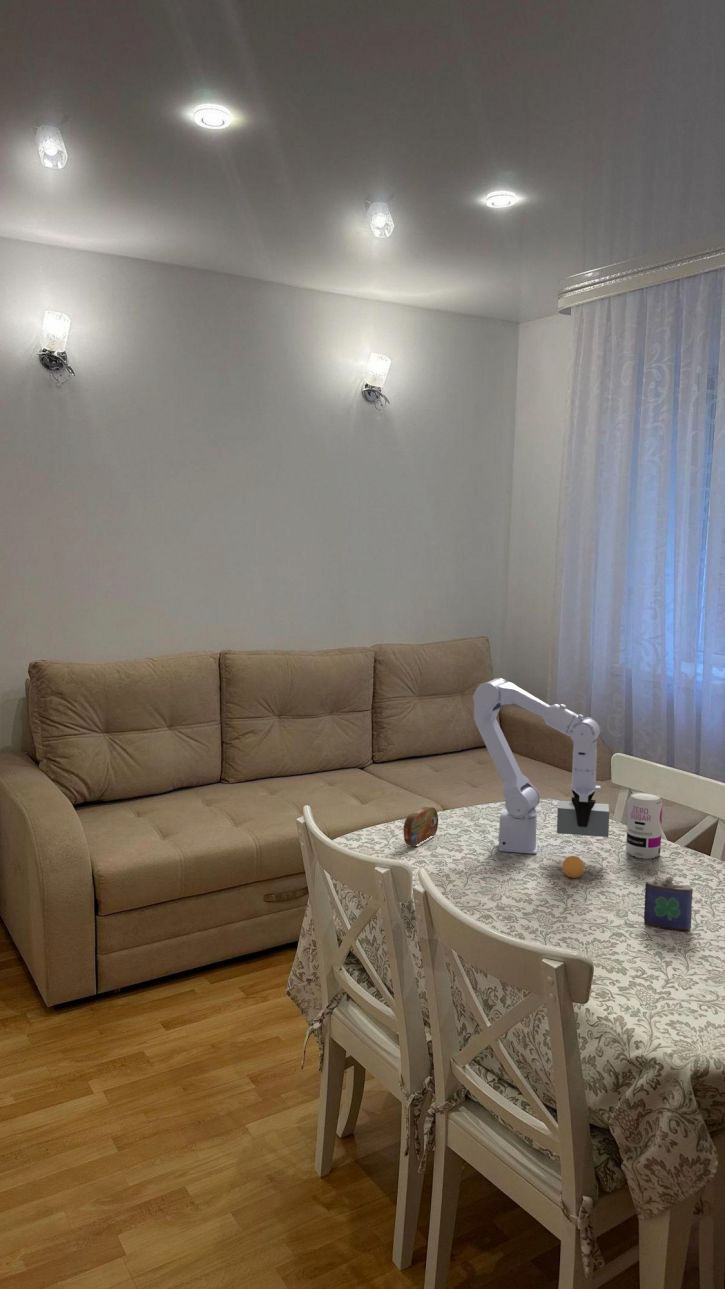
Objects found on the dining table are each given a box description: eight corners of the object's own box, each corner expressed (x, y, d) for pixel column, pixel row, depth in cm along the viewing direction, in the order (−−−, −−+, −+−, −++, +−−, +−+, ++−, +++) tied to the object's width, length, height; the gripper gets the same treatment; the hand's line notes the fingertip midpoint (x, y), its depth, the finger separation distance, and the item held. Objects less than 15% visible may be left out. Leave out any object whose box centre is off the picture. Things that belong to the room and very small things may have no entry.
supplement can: (656, 849, 232) (658, 791, 230) (663, 860, 224) (665, 801, 222) (623, 847, 233) (625, 791, 231) (629, 859, 225) (632, 800, 223)
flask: (691, 927, 186) (693, 877, 185) (690, 933, 184) (692, 882, 182) (644, 920, 190) (646, 871, 188) (642, 926, 187) (644, 876, 186)
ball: (561, 880, 211) (562, 859, 211) (562, 872, 216) (562, 852, 216) (584, 882, 210) (584, 861, 210) (583, 874, 215) (584, 853, 214)
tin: (411, 851, 230) (412, 819, 229) (401, 849, 232) (401, 817, 231) (439, 834, 243) (439, 804, 242) (428, 832, 245) (429, 802, 244)
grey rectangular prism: (556, 833, 223) (557, 807, 222) (557, 825, 229) (558, 800, 228) (608, 837, 220) (609, 811, 219) (607, 829, 226) (608, 804, 225)
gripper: (601, 777, 214) (599, 832, 216) (600, 762, 228) (598, 814, 230) (571, 775, 216) (569, 830, 218) (571, 760, 230) (570, 812, 232)
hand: (582, 822), depth 224 cm, fingers closed on grey rectangular prism, 6 cm apart
